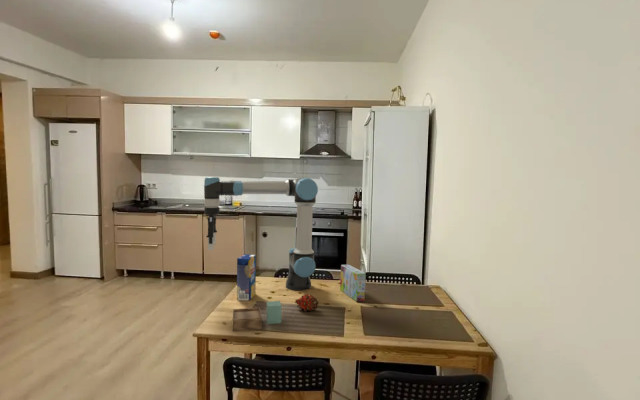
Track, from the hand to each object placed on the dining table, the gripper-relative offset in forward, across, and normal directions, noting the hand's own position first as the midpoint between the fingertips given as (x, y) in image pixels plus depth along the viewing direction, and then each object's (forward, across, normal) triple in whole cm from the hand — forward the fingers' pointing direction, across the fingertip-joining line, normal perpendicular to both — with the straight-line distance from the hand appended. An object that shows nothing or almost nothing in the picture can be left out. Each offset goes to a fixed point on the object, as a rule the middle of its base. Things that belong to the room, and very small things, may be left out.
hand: (212, 247), depth 186 cm
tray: (+28, +36, +18) cm, 48 cm away
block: (+28, +34, +30) cm, 53 cm away
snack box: (+28, +5, +75) cm, 81 cm away
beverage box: (+28, -1, +18) cm, 33 cm away
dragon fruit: (+28, +24, +47) cm, 59 cm away
